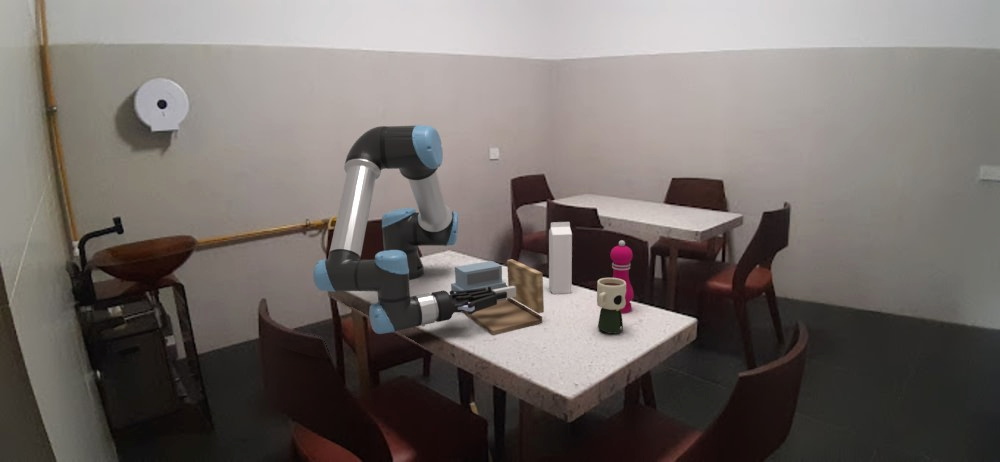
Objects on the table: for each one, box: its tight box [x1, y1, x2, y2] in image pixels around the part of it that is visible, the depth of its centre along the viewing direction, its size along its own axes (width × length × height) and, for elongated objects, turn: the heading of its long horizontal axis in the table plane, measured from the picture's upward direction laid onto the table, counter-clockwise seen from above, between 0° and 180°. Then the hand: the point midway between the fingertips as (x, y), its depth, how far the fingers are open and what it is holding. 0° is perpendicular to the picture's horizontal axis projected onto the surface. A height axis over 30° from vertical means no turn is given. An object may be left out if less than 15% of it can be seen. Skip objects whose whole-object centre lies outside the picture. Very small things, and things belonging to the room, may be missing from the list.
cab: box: [450, 260, 508, 301], centre depth 150 cm, size 8×19×12 cm, turn 119°
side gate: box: [506, 258, 545, 314], centre depth 142 cm, size 16×2×11 cm, turn 29°
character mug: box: [596, 277, 626, 334], centre depth 129 cm, size 11×7×13 cm, turn 138°
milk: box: [548, 221, 573, 295], centre depth 159 cm, size 6×6×22 cm
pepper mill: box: [609, 239, 634, 314], centre depth 143 cm, size 7×7×20 cm
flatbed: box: [462, 298, 543, 336], centre depth 140 cm, size 18×15×2 cm
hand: (514, 291), depth 139 cm, fingers closed
